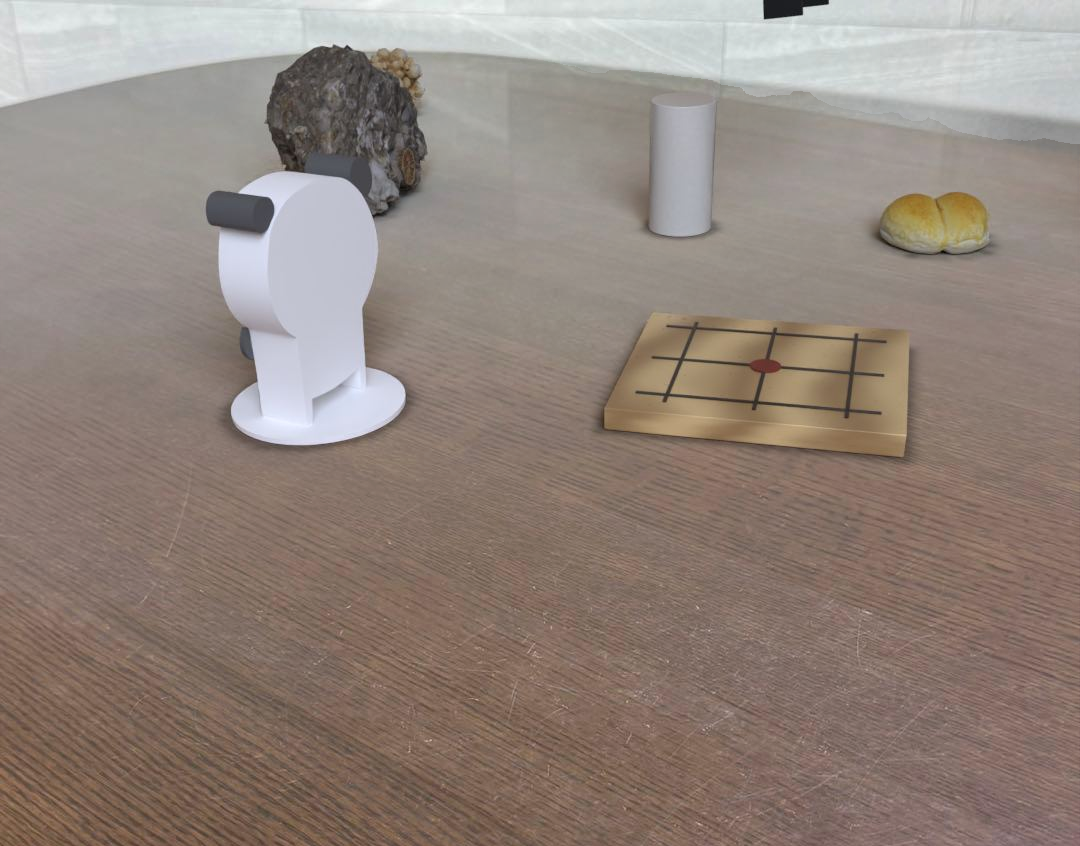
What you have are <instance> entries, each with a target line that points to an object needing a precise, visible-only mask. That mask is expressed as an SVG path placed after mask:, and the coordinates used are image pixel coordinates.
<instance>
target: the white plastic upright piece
mask: <svg viewBox="0 0 1080 846" xmlns="http://www.w3.org/2000/svg"><path fill="white" fill-rule="evenodd" d="M371 187H372V173H371V169H370V166H369V164H368V162H367V161H366V160H365V159H363V158H360V157H352V156H343V155H334V154H325V153H317V152H313V153H311V154H310V155H309V157H308V159H307V161H306V164H305V173H299V172H291V171H285V170H284V171H275V172H270V173H267V174H265V175H262V176H260V177H259V178H257V179H255V180H253V181H251V182H250V183H248V184H246V185H245V186H244V187H242V188H241V190H239V191H238V192H233V191H226V190H215V191H213V192H211V193H209V195H208V196H207V197H206V202H205V203H206V204H205V215H206V220H207V223H208V224H209V225H210V226H213V227H219V228H220V229H219V230H220V231H219V236H218V237H219V238H218V275H219V283H220V288H221V292H222V295H223V298H224V300H225V304H226V305H227V308H228V309H229V311H230V313H231V314H232V316H233V317H234V318H235V319H236V320H237V321H238V322H239V323H240V324H241V325H242V327H241V329H240V332H239V333H240V334H239V339H238V340H239V344H238V345H239V349H240V352H241V354H242V355H243V356H244V357H245V358H246V359H247V360H251V361H254V365H255V371H256V377H257V381H256V382H254V383H252V384H250V385H249V386H247V387H246V388H244V389H243V390H242V391H241V392H240V393H239V394H238V395H237V396H236V397H235V398H234V400H233V402H232V404H231V406H230V414H231V420H232V422H233V424H234V426H235V427H236V428H237V429H238V430H239V431H240V432H242V434H245V435H246V436H249V437H251V438H252V439H254V440H255V439H256V440H258V441H262V442H265V443H270V444H278V445H286V446H314V445H323V444H324V445H325V444H332V443H338V442H343V441H347V440H351V439H354V438H358V437H361V436H364V435H367V434H370V433H372V432H374V431H376V430H378V429H380V428H382V427H385V426H386V425H388V424H389V423H391V422H392V421H394V419H396V417H398V416H399V415H400V413H401V412H402V411H403V410H404V408H405V405H406V403H407V396H406V389H405V387H404V385H403V384H402V382H401V381H400V380H399V379H397V378H396V377H395V376H393V375H391V374H390V373H388V372H385V371H383V370H379V369H376V368H373V367H368V366H366V355H365V353H366V352H365V338H364V320H363V307H364V304H365V303H366V300H367V299H368V296H369V294H370V291H371V288H372V285H373V282H374V278H375V275H376V269H377V263H378V256H379V242H378V234H377V228H376V224H375V221H374V217H373V214H371V212H370V209H369V207H368V205H367V203H366V201H365V199H364V197H366V196H368V194H369V193H370V191H371Z"/></svg>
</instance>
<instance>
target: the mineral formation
mask: <svg viewBox="0 0 1080 846" xmlns="http://www.w3.org/2000/svg"><path fill="white" fill-rule="evenodd" d="M369 62H370V63H371V64H372V65H373V66H375V67H376V69H377V70H386V71H388V72H391V73H393V75H394V76H395V77H398V78H399V81H400V87H407V89H408V91H409V92H410V94H411V96H412V100H413V104H414V105H415V107H416V110H417V111H418V107H419V103H420V101H419V100H420V99H421V98H422V97H423V96H424V93H425V92H426V88H425V85H422V84H421V83H420V82H419V78H422V77H423V73H424V72H423V71H422V69H421V66H420V65H419V61H418V59H417V58H416V57H410V56H408V54H407V51H406V50H405V49H404V48H399V47H395V49H392V51H391V52H390V50H389V49H387V48H385V47H384V48H383V47H382V48H378V50H377V51H376V54H373V53H371V57H370V59H369Z"/></svg>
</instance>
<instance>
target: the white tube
mask: <svg viewBox="0 0 1080 846" xmlns="http://www.w3.org/2000/svg"><path fill="white" fill-rule="evenodd" d="M717 105H718V99H717V97H716V96H714V95H711V94H707V93H704V92H703V93H701V92H690V91H679V92H667V93H661V94H658V95H656V96H653V97H651V99H650V115H649V116H650V117H649V119H650V121H649V169H648V170H649V171H648V172H649V173H648V174H649V175H648V222H647V223H648V224H647V225H648V226H647V227H648V229H649V230H650V231H651V232H652V233H654V234H657V235H660V236H666V237H673V238H675V237H676V238H684V237H685V238H686V237H695V236H699V235H703V234H705V233H707V232H709V231H710V230H711V229H712V219H713V218H712V216H713V197H714V196H713V195H714V174H715V155H716V154H715V151H716V130H717V110H718V109H717V108H718V106H717Z"/></svg>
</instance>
